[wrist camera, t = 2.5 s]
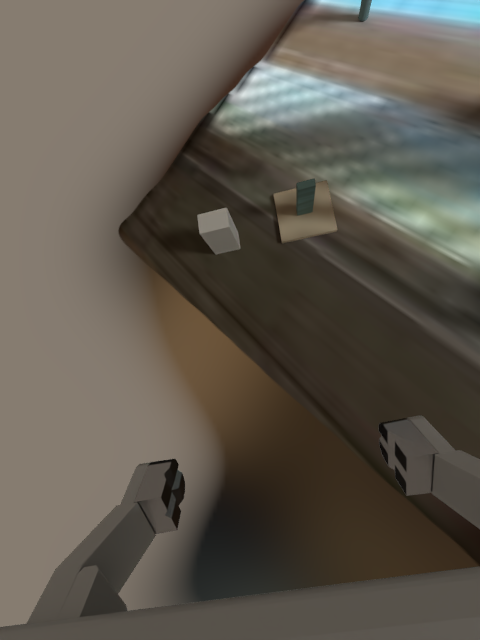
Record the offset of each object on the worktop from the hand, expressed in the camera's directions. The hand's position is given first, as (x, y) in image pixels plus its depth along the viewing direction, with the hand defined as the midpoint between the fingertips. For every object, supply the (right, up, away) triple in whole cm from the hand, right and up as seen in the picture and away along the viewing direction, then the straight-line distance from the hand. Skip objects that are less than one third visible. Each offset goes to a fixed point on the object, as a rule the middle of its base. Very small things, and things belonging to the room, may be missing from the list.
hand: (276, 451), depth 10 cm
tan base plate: (+10, +23, +34) cm, 42 cm away
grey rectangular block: (-4, +19, +36) cm, 41 cm away
